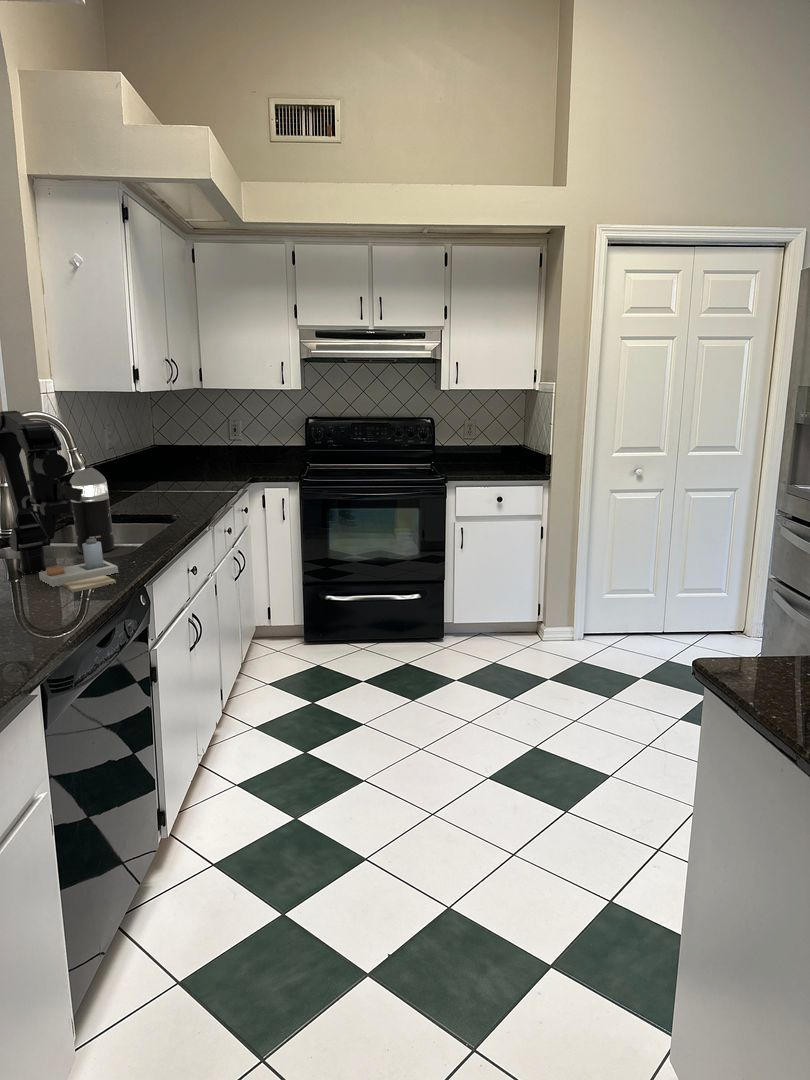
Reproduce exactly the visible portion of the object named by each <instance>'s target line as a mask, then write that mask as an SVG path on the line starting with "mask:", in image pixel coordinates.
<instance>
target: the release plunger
mask: <svg viewBox="0 0 810 1080" xmlns="http://www.w3.org/2000/svg"><path fill="white" fill-rule="evenodd" d="M64 567H65V566H64V565H52V566H48V568H46V570H45V571H46V572H47V574H48V575H49V576H55V575H60V574H64V573H63V572H64Z"/></svg>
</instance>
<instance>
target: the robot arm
mask: <svg viewBox="0 0 810 1080" xmlns="http://www.w3.org/2000/svg"><path fill="white" fill-rule="evenodd" d="M21 451H23V453H24V456H25V460H26V467H27V474H28V480H27V478H26V474H25V471H24V468H23V467H24V466H23V463H22V460H21V457H20V456H21V455H20V454H21V453H22V452H21ZM61 451H62V441H61V439H60V438H59V436H58V433H57V432H56V431H55V428H54V427H53V426H52V425H51V424H50V423H49V421H33V420H32V419H30V418H29V417H26V416H25V415H23V414H22V413H21V411H17V410H6V411H5V410H3V411H0V464H1V467H2V470H3V474H4V477H5V482H6V485H7V488H8V491H9V495H10V500H11V502H12V507H13V510H14V512H15V515H14V517H13V520H12V522H11V532H10V536H9V541H8V542H9V545H10V549H11V550H12V551H14V552H18V553H19V559H20V566H21V567H18V568H17V571H18V570H19V571H18V572H20V571H21V572H20V573H22V572H23V573H29V574H32V573H31V572H35V573H37V572H36V571H40V572H42V571H41V570H45V571H46V568H48V567H49V566H48V565H46V558H45V552H44V547H50V546H51V543H52V540H54V539H55V535H56V534H55V533H56V527H57V521H58V518H59V517H60V516H61V515H62V514H66V513H73V509H72V502H70V501H71V500H74V501H77V502H80V501H81V496H82V492H83V490H82V489H78V488H73V487H72V484H71V483H70V482H69V481H67V482H66V481H62V482H61V481H60V478H62V477H64V476H65V475H66V474H67V472H68V471H69V462H68V460H67V459H66V458H65V457H64V456H63V455H61V454H60V453H58V452H61ZM29 486H30V487H29ZM29 488H30V489H29ZM66 499H68V500H70V501H68V500H66ZM23 573H22V574H23Z"/></svg>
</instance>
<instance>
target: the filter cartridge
mask: <svg viewBox="0 0 810 1080" xmlns="http://www.w3.org/2000/svg"><path fill="white" fill-rule="evenodd" d="M82 546H83V553H82V554H83V559H84V560H83V561H84V564H85V569H86V570H92V569H97V568H102V567H104V563H103V560H104V558H103V557H104V556H103V553H102V547H101V542H98V541H96V539H87V540H86V543H83V544H82Z"/></svg>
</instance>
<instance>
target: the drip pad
mask: <svg viewBox="0 0 810 1080" xmlns="http://www.w3.org/2000/svg"><path fill="white" fill-rule="evenodd" d="M113 583H115V584H116V583H117V581H116V579H114V578H111V577H110V576H106V575H103V576H98V577H93V578H88V579H83V580H78V581H73V582H68V583H64V584H63V585H62V586H63V588H65V589H67V590H68V591H70V592H72V593H78V592H82V591H86V590H92V589H96V588H100V587H105V585H106V586H109V584H111V585H114V584H113Z"/></svg>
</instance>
